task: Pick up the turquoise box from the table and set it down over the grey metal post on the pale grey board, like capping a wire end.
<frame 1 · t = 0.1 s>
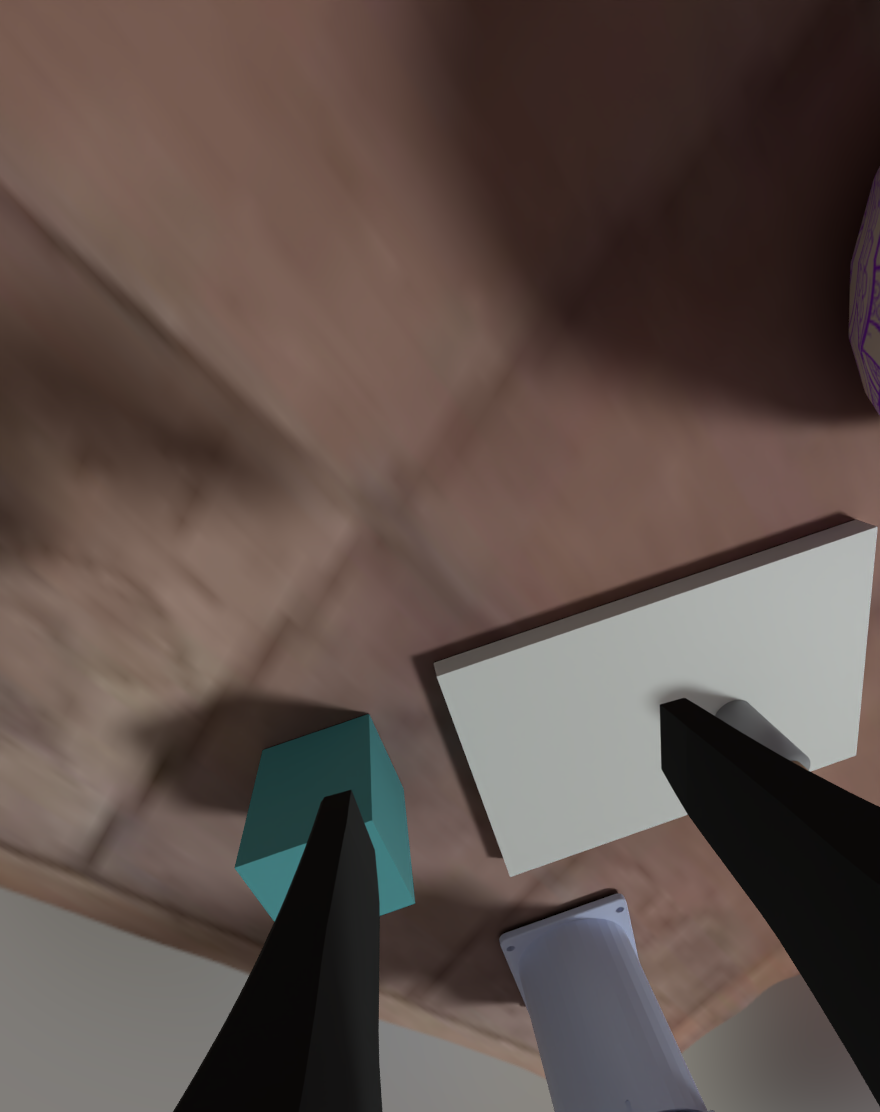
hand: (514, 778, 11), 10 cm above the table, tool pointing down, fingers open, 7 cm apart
post board: (662, 707, 25), on the table
turquoise box: (336, 770, 23), on the table
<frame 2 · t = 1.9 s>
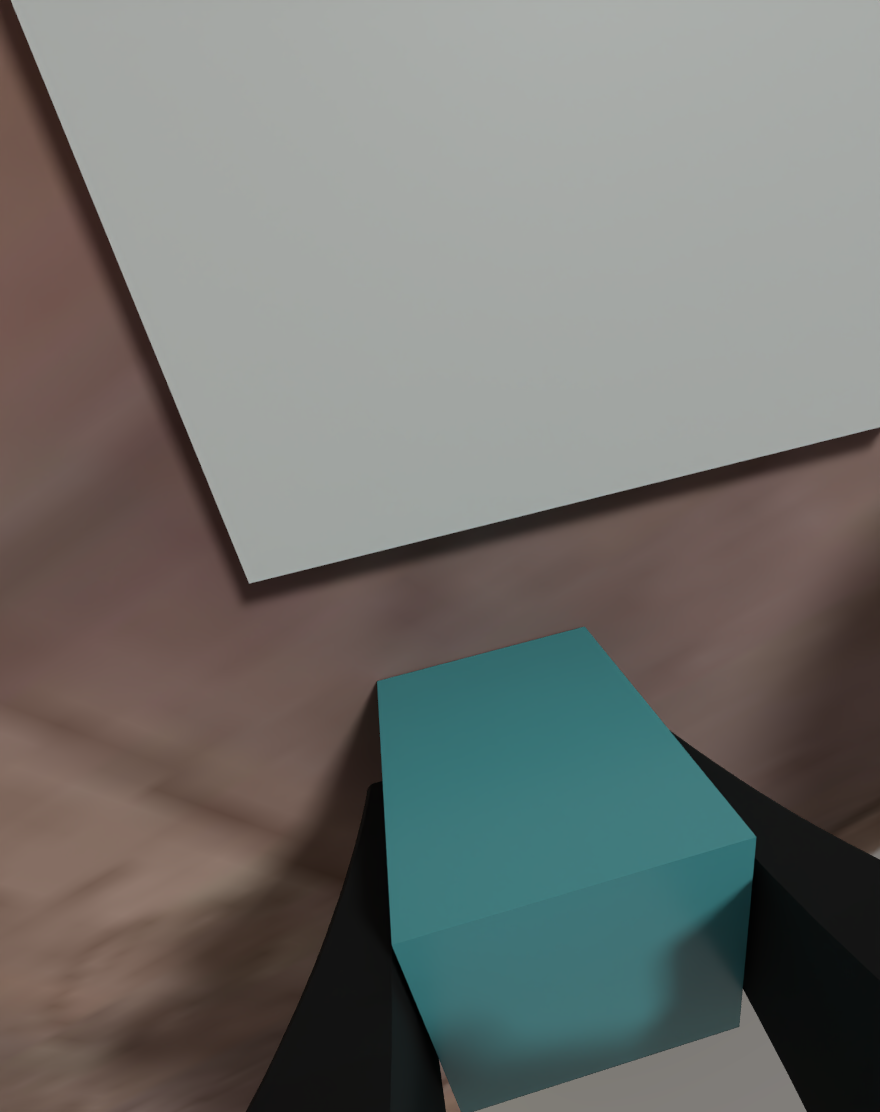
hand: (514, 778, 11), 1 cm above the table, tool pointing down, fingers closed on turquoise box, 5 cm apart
turquoise box: (498, 734, 12), on the table, touching gripper
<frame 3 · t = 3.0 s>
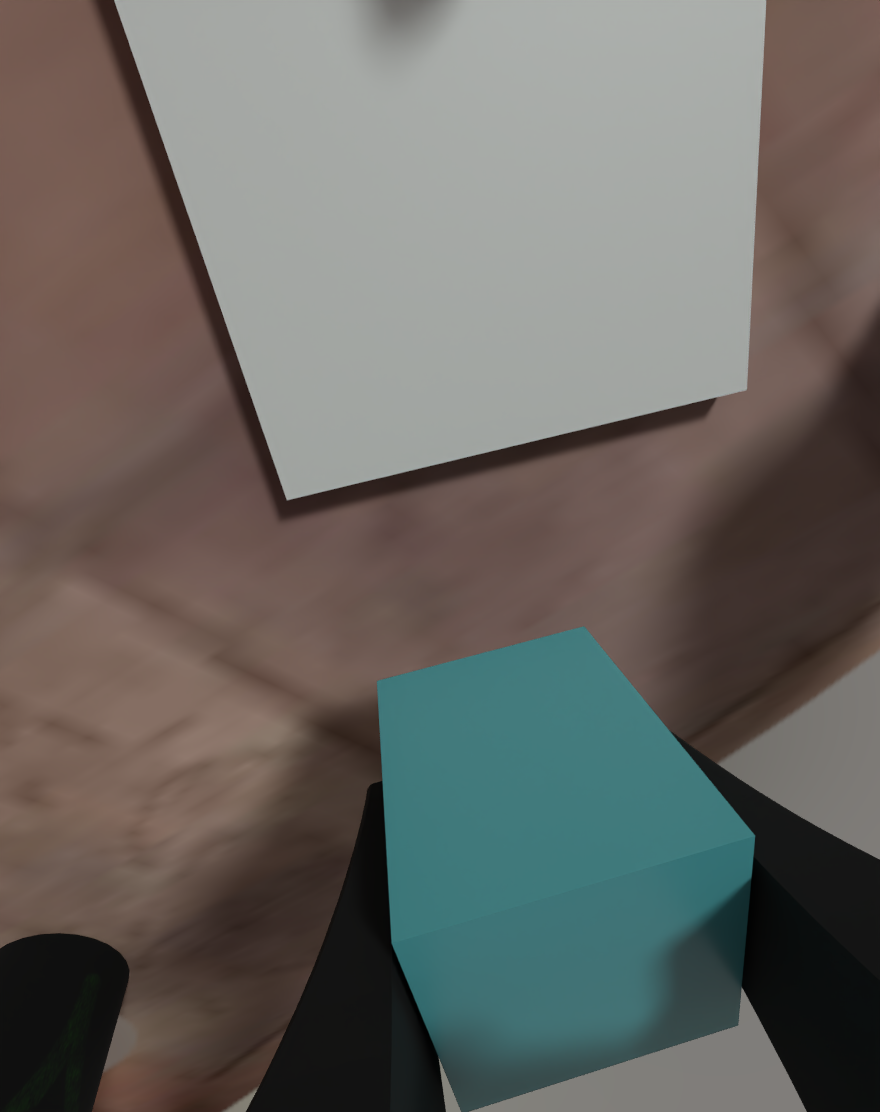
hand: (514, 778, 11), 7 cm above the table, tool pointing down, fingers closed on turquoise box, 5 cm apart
post board: (452, 5, 11), on the table
turquoise box: (498, 733, 13), point 6 cm above the table, touching gripper
cup: (60, 970, 21), on the table
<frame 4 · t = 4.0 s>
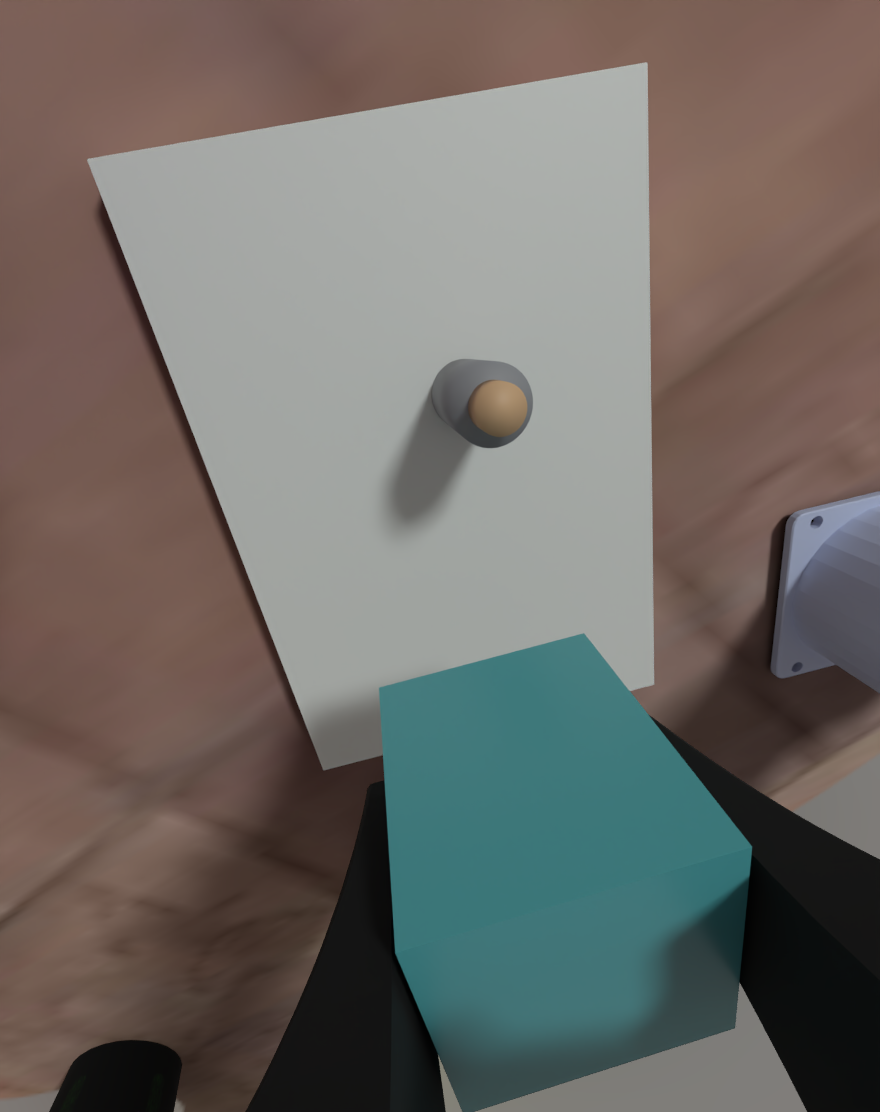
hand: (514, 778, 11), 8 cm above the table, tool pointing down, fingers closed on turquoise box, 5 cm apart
post board: (444, 487, 17), on the table
turquoise box: (498, 738, 13), point 7 cm above the table, touching gripper
cup: (128, 1065, 27), on the table
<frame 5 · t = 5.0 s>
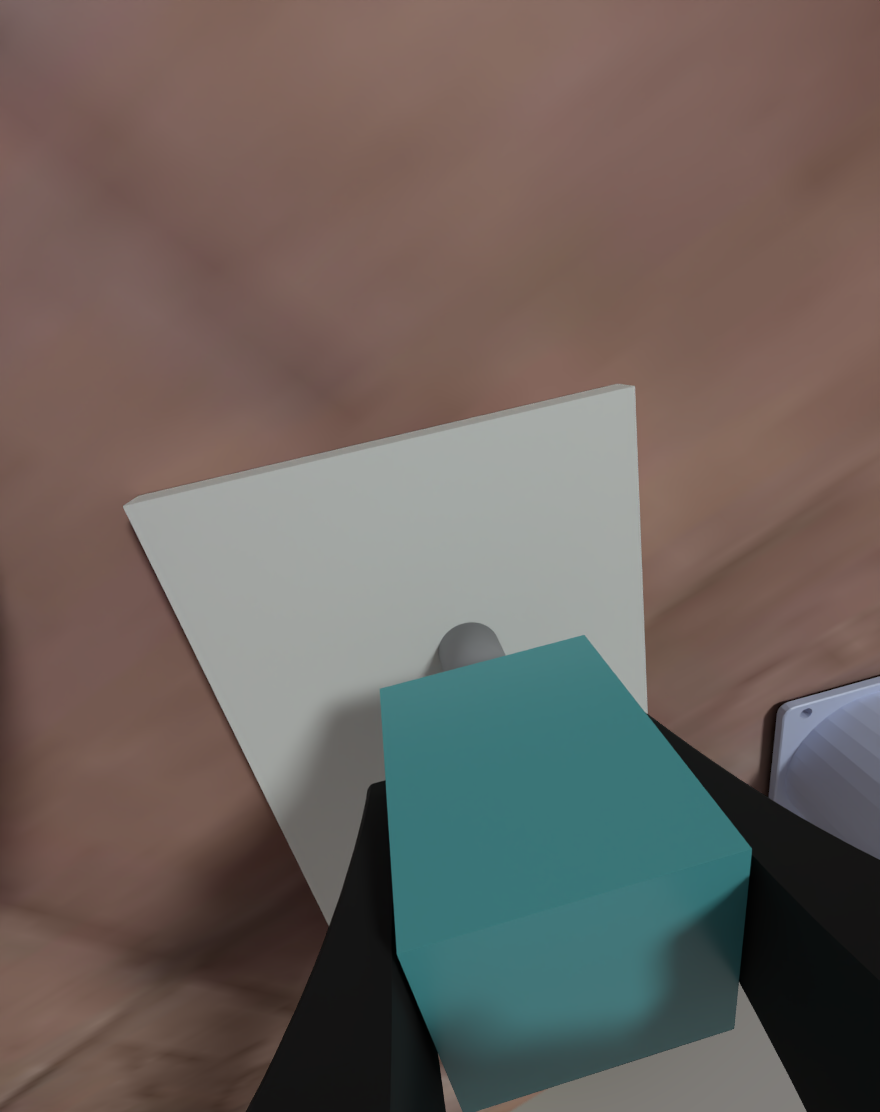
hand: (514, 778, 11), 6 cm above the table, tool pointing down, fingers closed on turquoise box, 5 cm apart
post board: (451, 707, 18), on the table
turquoise box: (498, 739, 13), point 5 cm above the table, touching gripper
when the fingers open (3 cm above the table, at t = 6.0 s): turquoise box stays where it is, resting on post board.
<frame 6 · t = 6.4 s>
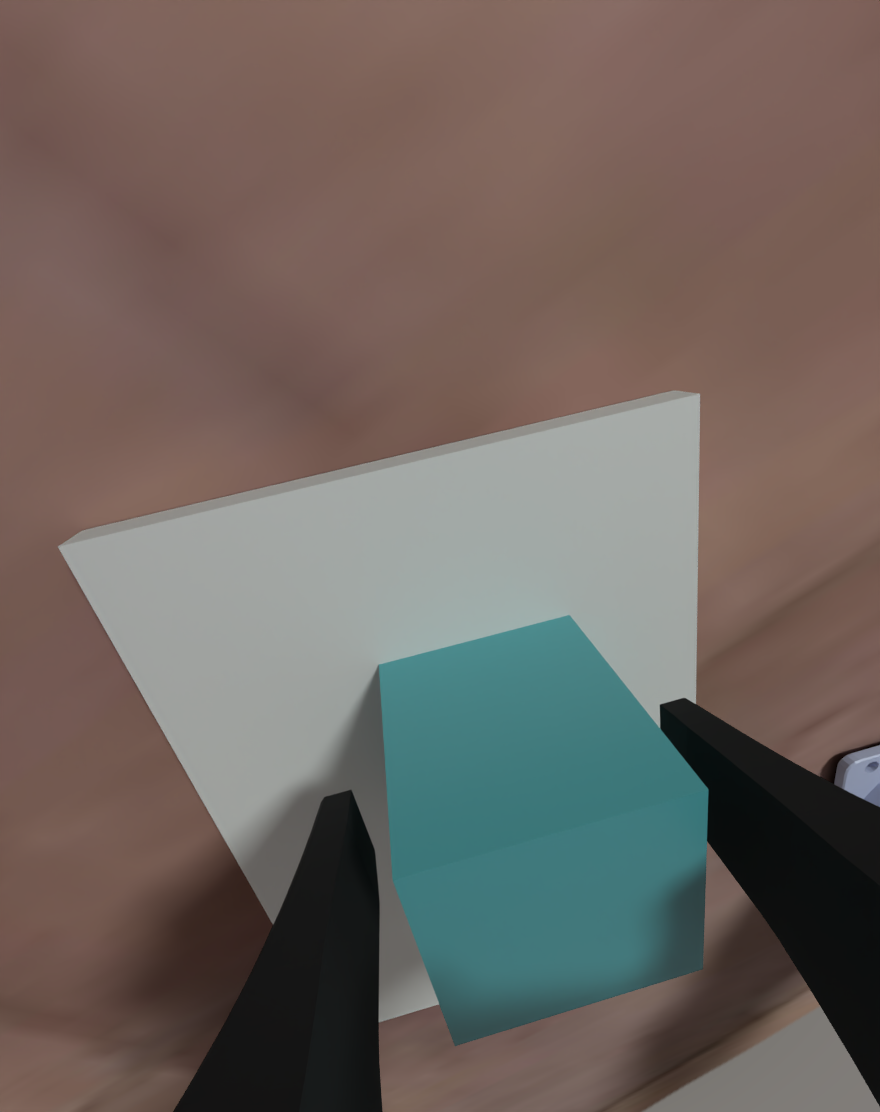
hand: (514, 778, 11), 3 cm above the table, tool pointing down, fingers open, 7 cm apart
post board: (465, 768, 15), on the table
turquoise box: (490, 714, 13), point 1 cm above the table, touching post board
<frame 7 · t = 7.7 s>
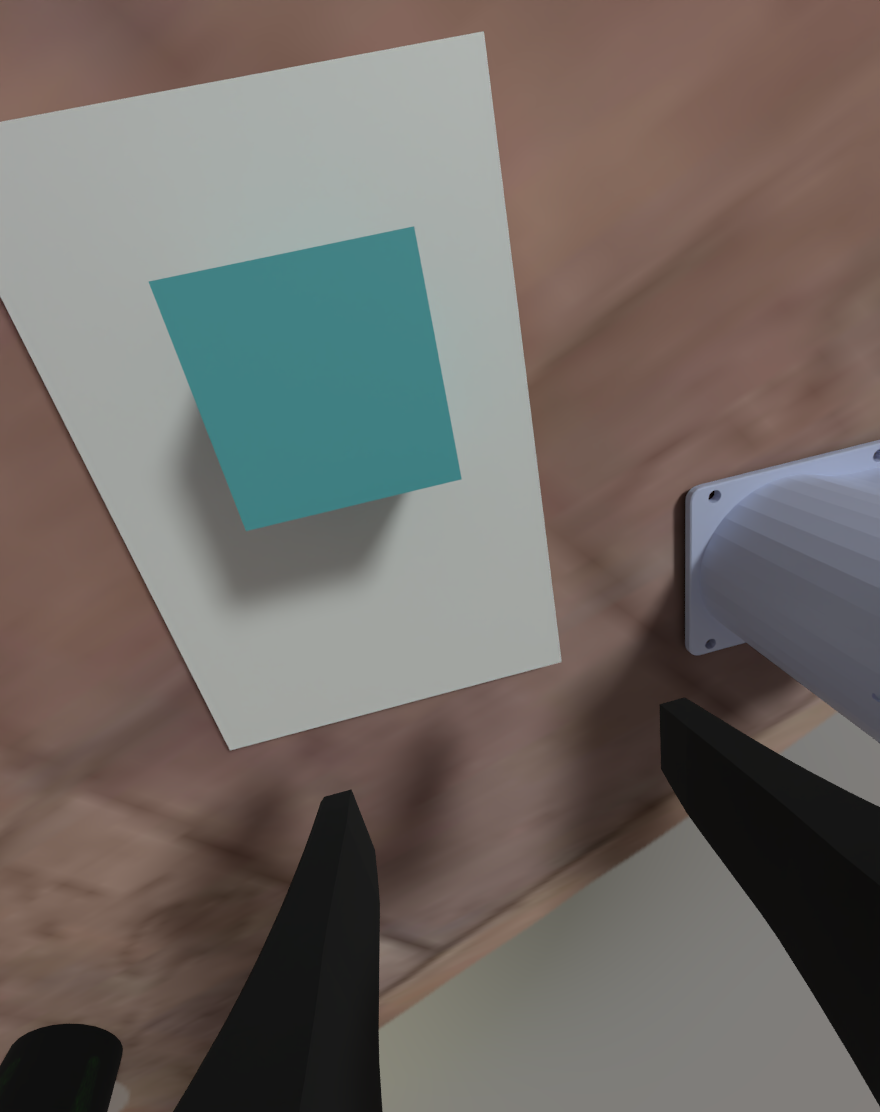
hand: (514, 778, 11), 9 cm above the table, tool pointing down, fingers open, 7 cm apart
post board: (330, 464, 17), on the table
turquoise box: (334, 377, 15), point 1 cm above the table, touching post board
cup: (69, 1049, 27), on the table
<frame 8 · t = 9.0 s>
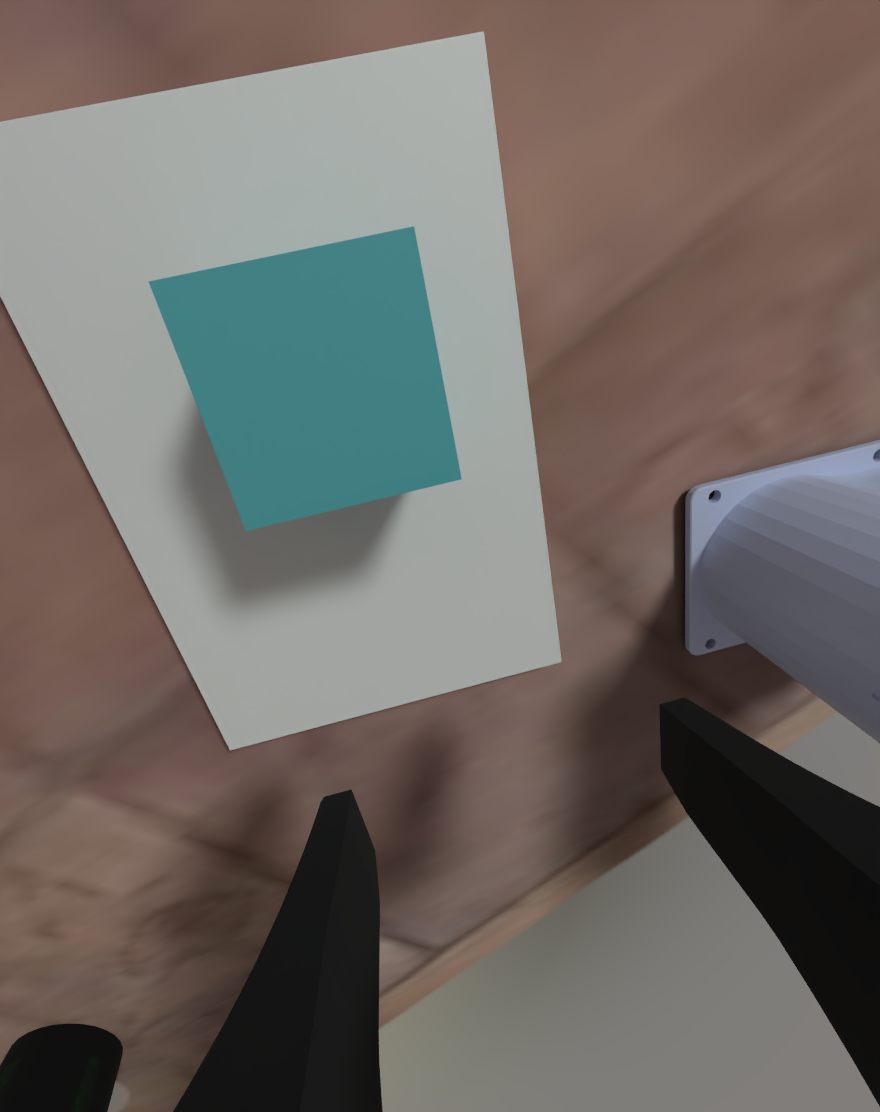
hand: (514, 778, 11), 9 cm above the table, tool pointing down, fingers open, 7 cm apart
post board: (330, 464, 17), on the table
turquoise box: (334, 377, 15), point 1 cm above the table, touching post board
cup: (69, 1049, 27), on the table
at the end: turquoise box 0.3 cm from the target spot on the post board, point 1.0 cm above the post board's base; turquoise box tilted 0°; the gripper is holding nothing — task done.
